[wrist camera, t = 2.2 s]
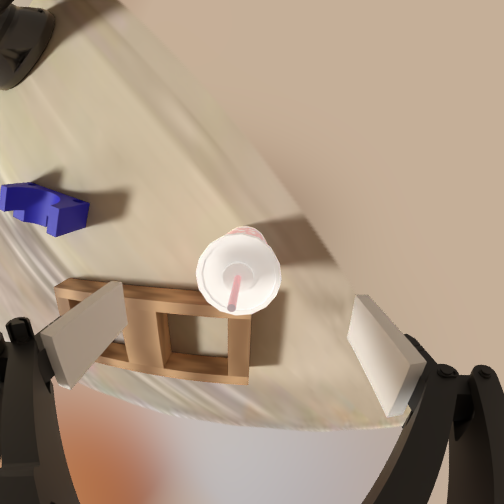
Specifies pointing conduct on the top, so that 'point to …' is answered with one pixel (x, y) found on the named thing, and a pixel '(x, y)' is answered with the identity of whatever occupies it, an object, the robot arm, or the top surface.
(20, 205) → the blue notched block
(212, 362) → the wooden holder tray
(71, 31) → the top surface
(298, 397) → the top surface
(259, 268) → the beverage cup
